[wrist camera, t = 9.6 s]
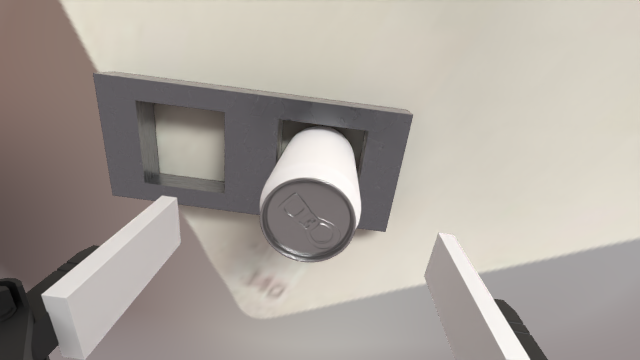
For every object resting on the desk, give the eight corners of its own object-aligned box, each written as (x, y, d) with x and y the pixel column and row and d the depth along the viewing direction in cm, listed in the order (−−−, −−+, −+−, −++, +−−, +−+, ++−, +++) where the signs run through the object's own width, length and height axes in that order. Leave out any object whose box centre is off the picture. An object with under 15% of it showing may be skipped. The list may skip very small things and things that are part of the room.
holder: (114, 71, 27) (92, 73, 24) (406, 109, 26) (413, 114, 24) (129, 184, 31) (112, 195, 28) (381, 218, 31) (385, 231, 28)
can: (318, 201, 30) (306, 285, 19) (272, 156, 29) (229, 218, 18) (368, 160, 28) (386, 227, 17) (321, 109, 27) (309, 146, 16)
